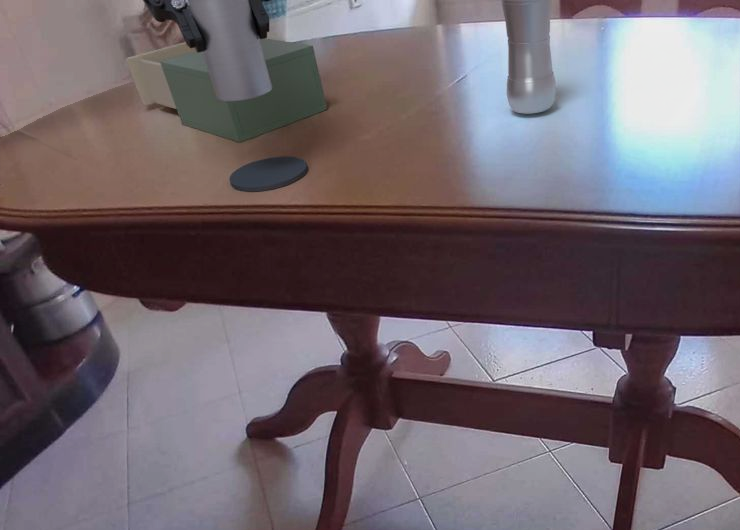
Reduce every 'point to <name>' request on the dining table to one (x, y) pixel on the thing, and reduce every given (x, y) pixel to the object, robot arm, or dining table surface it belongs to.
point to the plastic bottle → (529, 55)
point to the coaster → (268, 174)
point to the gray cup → (231, 48)
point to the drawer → (155, 73)
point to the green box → (252, 116)
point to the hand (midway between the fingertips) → (232, 39)
